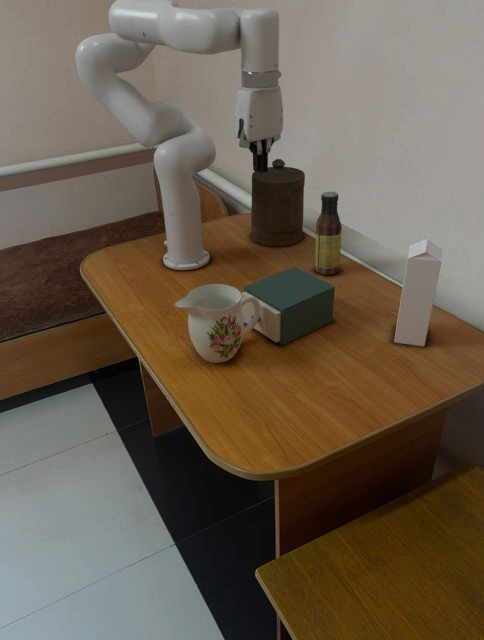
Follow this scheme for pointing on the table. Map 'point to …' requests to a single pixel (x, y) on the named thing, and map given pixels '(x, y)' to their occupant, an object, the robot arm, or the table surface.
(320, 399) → the table surface
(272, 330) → the drawer
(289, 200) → the wooden container
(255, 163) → the robot arm
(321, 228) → the sauce bottle
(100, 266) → the table surface
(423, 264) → the milk
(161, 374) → the table surface
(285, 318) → the cabinet
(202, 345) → the pitcher
